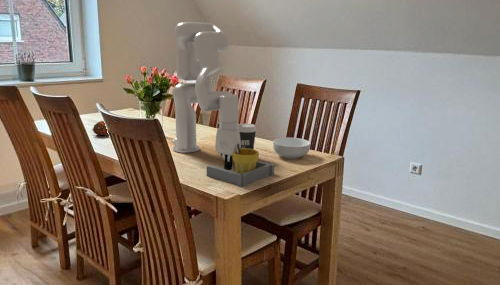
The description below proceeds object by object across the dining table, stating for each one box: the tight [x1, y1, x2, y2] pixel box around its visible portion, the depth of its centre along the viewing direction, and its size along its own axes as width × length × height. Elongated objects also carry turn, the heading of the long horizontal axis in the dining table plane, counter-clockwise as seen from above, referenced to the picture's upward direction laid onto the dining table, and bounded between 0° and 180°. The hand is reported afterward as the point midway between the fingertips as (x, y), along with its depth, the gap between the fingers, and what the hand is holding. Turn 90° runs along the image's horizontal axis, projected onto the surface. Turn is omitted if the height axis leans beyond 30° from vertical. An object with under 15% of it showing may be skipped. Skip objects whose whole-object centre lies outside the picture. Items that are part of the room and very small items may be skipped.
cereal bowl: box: [272, 137, 311, 160], centre depth 201 cm, size 17×17×7 cm
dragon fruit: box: [91, 120, 109, 136], centre depth 235 cm, size 8×8×12 cm
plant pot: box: [232, 148, 260, 174], centre depth 173 cm, size 10×10×10 cm
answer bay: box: [206, 160, 275, 187], centre depth 174 cm, size 19×20×4 cm
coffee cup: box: [238, 123, 258, 150], centre depth 196 cm, size 10×10×15 cm
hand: (228, 169), depth 178 cm, fingers closed
